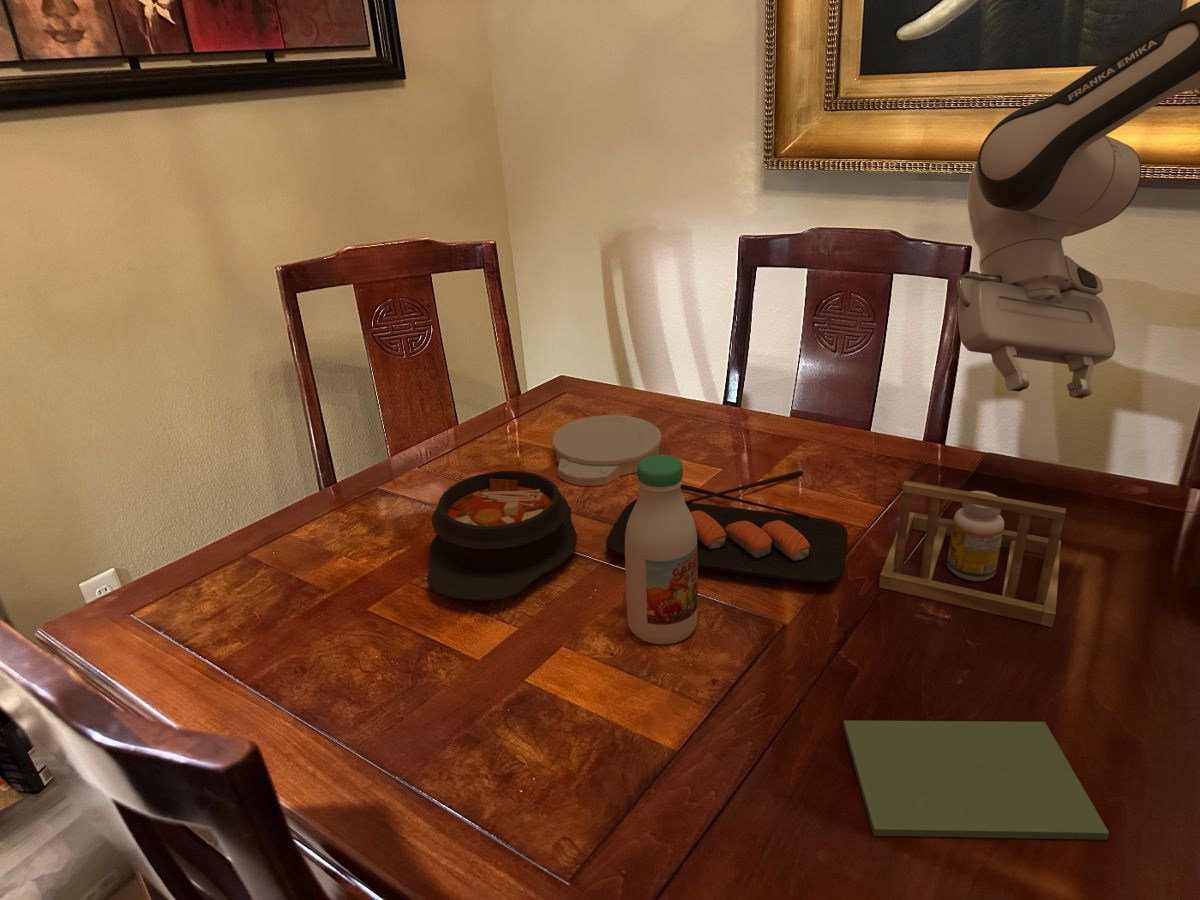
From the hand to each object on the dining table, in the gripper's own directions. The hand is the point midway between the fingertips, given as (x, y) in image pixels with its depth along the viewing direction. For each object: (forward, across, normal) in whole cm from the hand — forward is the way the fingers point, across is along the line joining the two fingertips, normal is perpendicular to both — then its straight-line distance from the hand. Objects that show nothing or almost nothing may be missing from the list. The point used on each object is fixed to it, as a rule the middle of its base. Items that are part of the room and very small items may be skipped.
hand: (1050, 393), depth 93 cm
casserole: (+12, -52, +41) cm, 67 cm away
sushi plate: (+8, -21, +33) cm, 40 cm away
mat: (+38, -23, -2) cm, 45 cm away
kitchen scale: (-7, -32, +54) cm, 63 cm away
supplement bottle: (+18, -2, +14) cm, 23 cm away
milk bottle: (+22, -39, +23) cm, 50 cm away
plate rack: (+17, -2, +14) cm, 22 cm away
